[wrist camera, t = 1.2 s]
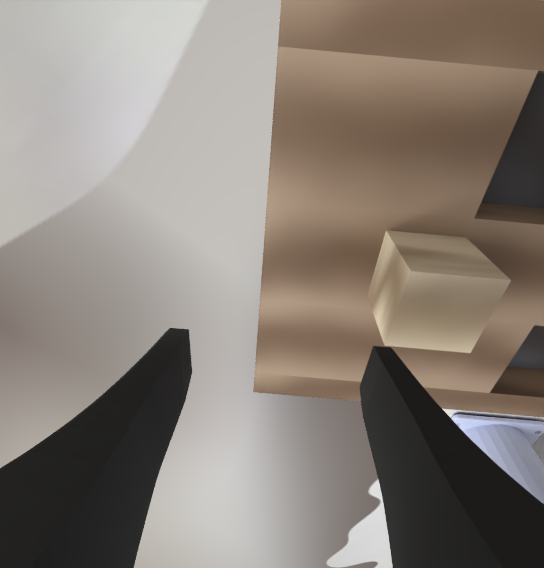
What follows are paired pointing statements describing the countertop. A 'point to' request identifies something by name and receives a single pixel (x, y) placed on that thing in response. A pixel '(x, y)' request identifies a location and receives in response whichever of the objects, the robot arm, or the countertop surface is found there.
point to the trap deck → (403, 188)
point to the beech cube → (433, 291)
